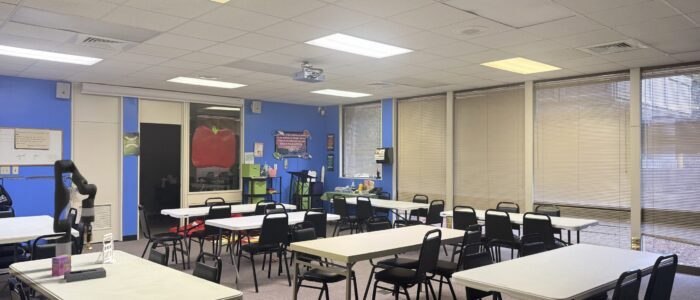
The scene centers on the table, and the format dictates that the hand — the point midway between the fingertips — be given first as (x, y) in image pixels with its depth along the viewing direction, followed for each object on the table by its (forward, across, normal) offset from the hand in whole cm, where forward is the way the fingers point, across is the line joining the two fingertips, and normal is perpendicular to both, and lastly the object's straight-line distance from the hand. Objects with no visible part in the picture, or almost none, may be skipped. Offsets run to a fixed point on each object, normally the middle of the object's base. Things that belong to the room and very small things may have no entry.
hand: (88, 241), depth 315 cm
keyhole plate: (+22, +8, -3) cm, 23 cm away
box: (+22, -13, -14) cm, 29 cm away
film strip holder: (+22, -36, +19) cm, 46 cm away
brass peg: (+5, 0, 0) cm, 5 cm away
